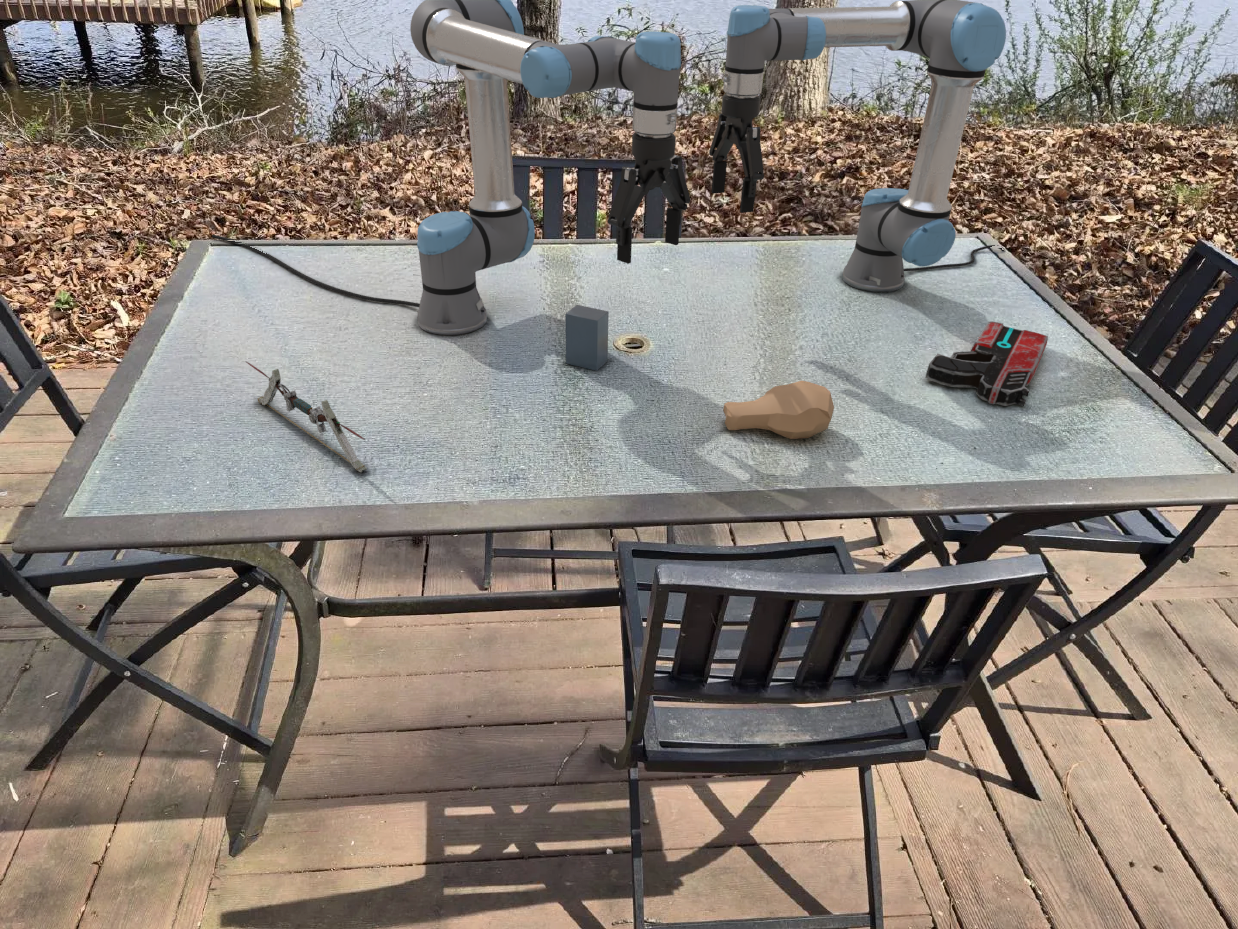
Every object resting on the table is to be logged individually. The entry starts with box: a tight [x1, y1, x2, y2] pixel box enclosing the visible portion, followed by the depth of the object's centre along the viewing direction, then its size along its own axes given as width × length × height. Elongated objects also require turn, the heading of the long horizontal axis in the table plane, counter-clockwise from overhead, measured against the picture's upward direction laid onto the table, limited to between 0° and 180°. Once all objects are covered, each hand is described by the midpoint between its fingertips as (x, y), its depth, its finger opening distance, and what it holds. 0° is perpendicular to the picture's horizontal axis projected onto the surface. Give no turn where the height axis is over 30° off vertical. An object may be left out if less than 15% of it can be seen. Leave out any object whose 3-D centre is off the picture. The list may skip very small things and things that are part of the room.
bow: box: [244, 360, 368, 473], centre depth 153 cm, size 39×2×10 cm, turn 47°
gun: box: [925, 320, 1049, 407], centre depth 183 cm, size 4×31×19 cm
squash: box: [722, 380, 835, 440], centre depth 159 cm, size 11×20×9 cm, turn 90°
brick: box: [564, 304, 610, 372], centre depth 179 cm, size 7×5×11 cm
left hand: (648, 252), depth 162 cm, fingers open, 13 cm apart
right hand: (731, 202), depth 184 cm, fingers open, 13 cm apart
